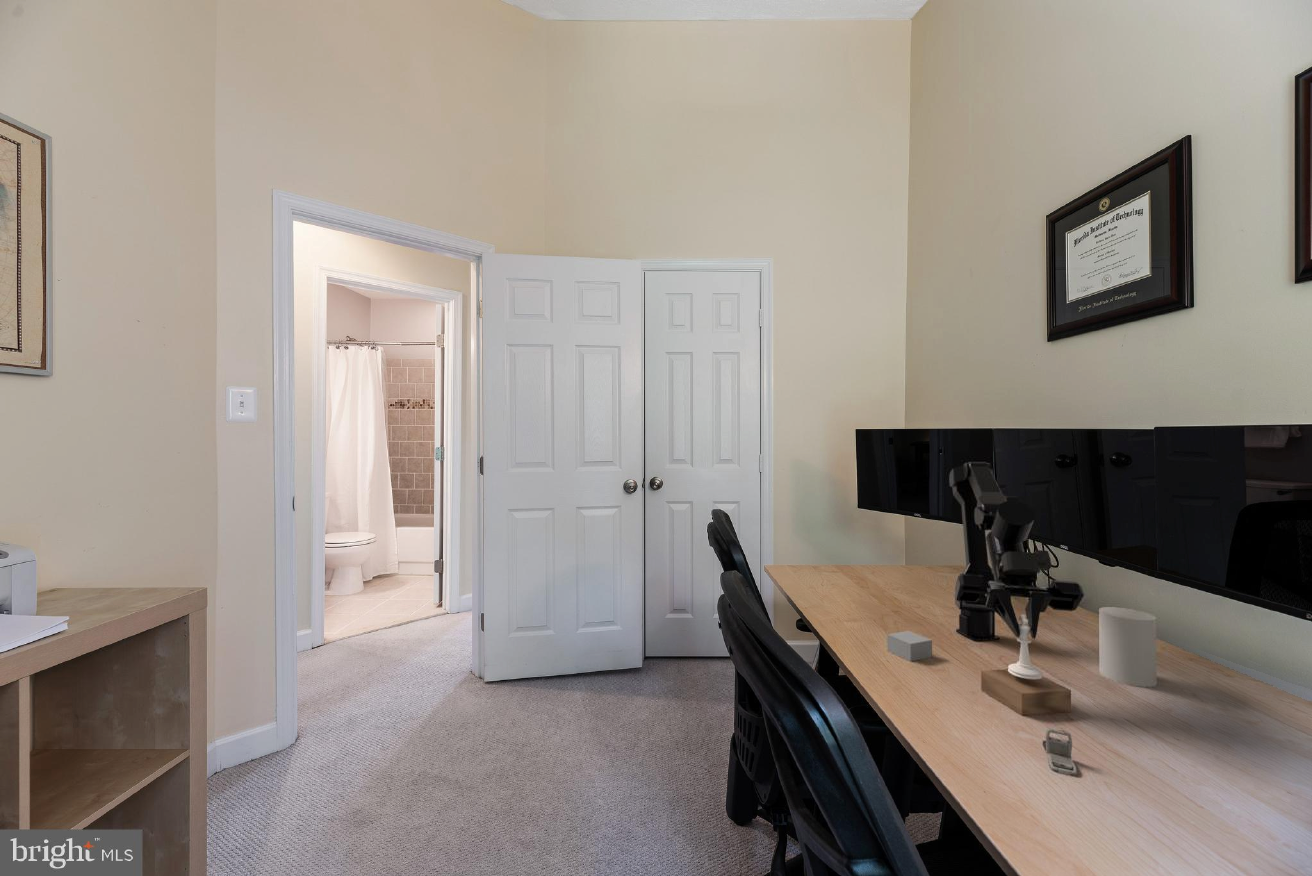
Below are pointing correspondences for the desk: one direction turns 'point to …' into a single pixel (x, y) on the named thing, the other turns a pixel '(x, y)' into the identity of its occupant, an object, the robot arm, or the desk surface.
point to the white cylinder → (1127, 646)
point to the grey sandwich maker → (1059, 753)
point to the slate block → (909, 645)
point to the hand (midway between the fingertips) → (1026, 636)
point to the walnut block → (1026, 693)
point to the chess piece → (1024, 655)
